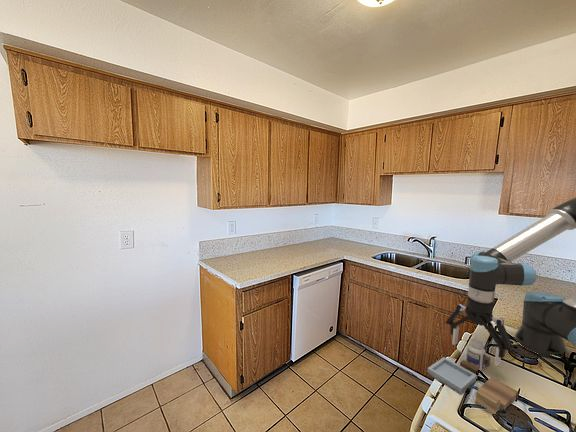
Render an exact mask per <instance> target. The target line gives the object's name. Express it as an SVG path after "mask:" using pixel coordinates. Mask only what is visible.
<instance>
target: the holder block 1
mask: <svg viewBox="0 0 576 432" xmlns="http://www.w3.org/2000/svg"><path fill="white" fill-rule="evenodd" d="M459 366H461V367H463V368H465V369H467V370H469V371H470V372H472V373H474V374H476V372H477V371H478V370H479V367H477V366H475V365H473V364H471V363H469V362H467V360H466V359H464V358H463V359H462V360H461V361H460V362H459Z"/></svg>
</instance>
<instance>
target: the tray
mask: <svg viewBox="0 0 576 432" xmlns="http://www.w3.org/2000/svg"><path fill="white" fill-rule="evenodd" d="M427 374H428V375H429V376H431V377H433V378H434V379H436V380H438V381H439V382H441V383H442V384H444V385H445V386H446V387H448V388H450V389H452V390H453V391H455V392H457V393H458V394H459V395H462V394H463V393H464V392H466V391H467V390H468V389H469V388H470V387H471V386H472V385H473V384H474V383H476V382H477V381H476V379H477V380H478V375H476V374H474V373H472V372H470V371H469V370H467V369H465V368H463V367H461V366H460V364H457V363H456V362H454V361H451V360H450V359H448V358H447V357H445V356H443V357H442V358H440V359H439V360H437V361H436V362H434V363H433V364H431V365H429V366H428V367H427ZM475 381H476V382H475ZM470 385H471V386H470ZM469 386H470V387H469ZM468 387H469V388H468ZM467 388H468V389H467Z"/></svg>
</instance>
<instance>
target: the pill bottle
mask: <svg viewBox="0 0 576 432" xmlns="http://www.w3.org/2000/svg"><path fill="white" fill-rule="evenodd" d="M469 342H470V343H469V344H468V345H467V348H466V361H467V362H469V363H471V364H473V365H475V366H477V367H479V370H480V371H479V372H481V371H482V372H483V371H484V370H485V355H486V349H485V347H484V346H485V344H484V342H483V341H482V340H480V339H477V338H471V339H470V340H469Z"/></svg>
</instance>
